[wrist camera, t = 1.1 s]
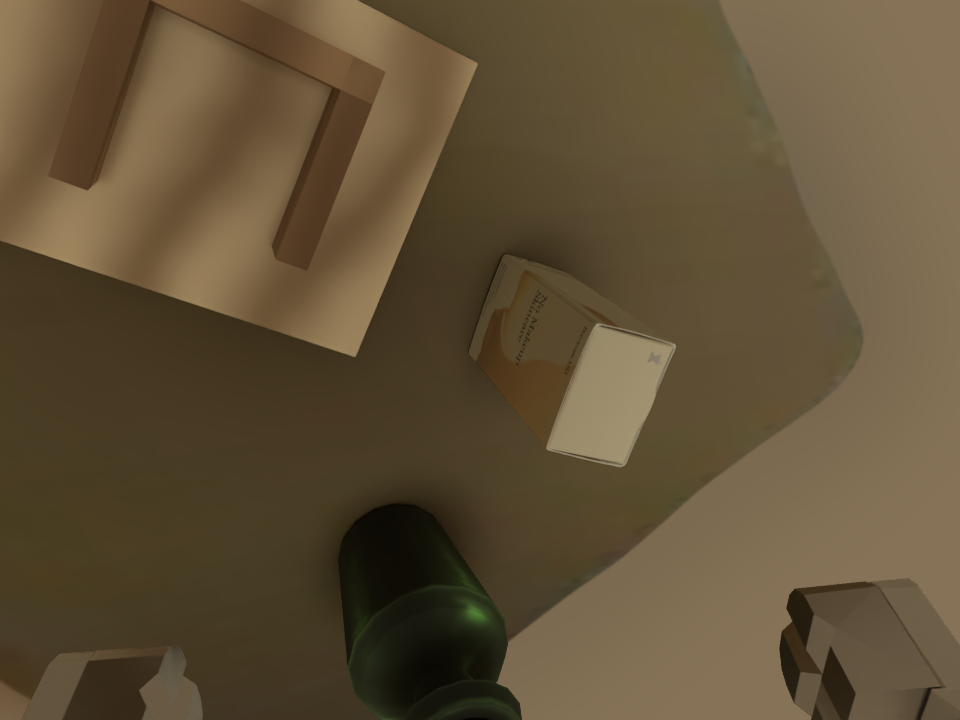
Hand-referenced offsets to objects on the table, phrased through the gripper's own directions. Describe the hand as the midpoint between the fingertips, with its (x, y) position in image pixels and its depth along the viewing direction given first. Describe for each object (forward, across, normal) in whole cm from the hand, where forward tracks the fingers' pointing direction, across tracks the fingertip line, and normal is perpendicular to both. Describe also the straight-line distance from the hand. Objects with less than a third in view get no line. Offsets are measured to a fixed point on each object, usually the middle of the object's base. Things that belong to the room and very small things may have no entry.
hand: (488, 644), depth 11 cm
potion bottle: (+28, +6, +25) cm, 38 cm away
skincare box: (+32, -3, +13) cm, 35 cm away
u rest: (+30, +11, +1) cm, 32 cm away
